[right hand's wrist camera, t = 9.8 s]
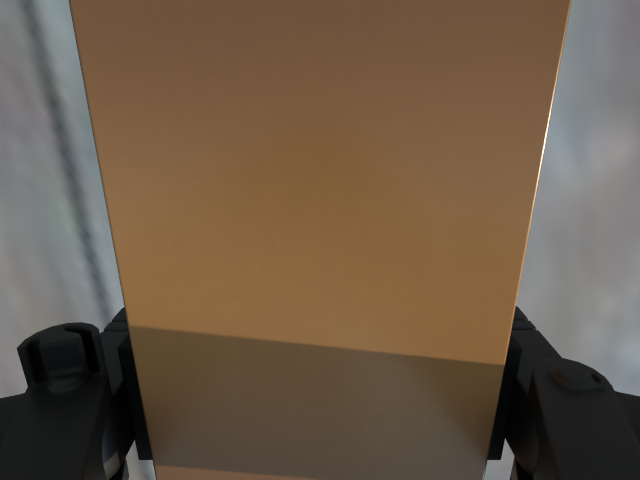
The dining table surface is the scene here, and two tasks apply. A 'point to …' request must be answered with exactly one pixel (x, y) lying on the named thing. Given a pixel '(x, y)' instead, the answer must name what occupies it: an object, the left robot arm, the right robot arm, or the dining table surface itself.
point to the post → (320, 223)
